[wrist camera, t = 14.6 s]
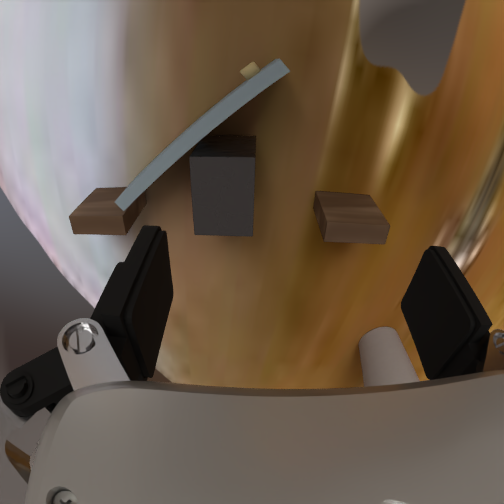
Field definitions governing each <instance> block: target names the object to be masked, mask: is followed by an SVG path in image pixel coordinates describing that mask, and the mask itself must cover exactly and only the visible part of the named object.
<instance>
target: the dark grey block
mask: <svg viewBox="0 0 504 504" xmlns="http://www.w3.org/2000/svg"><path fill="white" fill-rule="evenodd" d="M255 151H256V136H238V135H206V136H205V137H203V138H202V139H201V140H200V142H199V143H198V145H197V146H196V148H195V149H194V151H193V152H192V154H191V155H190V157H189V158H190V176H191V193H192V207H193V221H194V233H195V235H219V236H252V237H253V213H254V182H255Z"/></svg>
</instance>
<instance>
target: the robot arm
mask: <svg viewBox="0 0 504 504" xmlns="http://www.w3.org/2000/svg"><path fill="white" fill-rule="evenodd" d="M172 300H173V284H172V276H171V268H170V260H169V251H168V242H167V233H166V231H161V227H160V226H143V227H142V229H141V231H140V233H139V234H138V236H137V238H136V240H135V242H134V244H133V246H132V248H131V250H130V252H129V254H128V256H127V258H126V260H125V262H119V263H118V264H117V265H116V267H115V269H114V271H113V273H112V275H111V277H110V279H109V281H108V283H107V285H106V287H105V289H104V291H103V293H102V295H101V297H100V299H99V301H98V303H97V305H96V308H95V310H94V312H93V314H92V316H91V319H87V318H84V319H77V320H74V321H72V322H70V323H68V324H67V325H66V326H65V327H64V328H63V329H62V330H61V332H60V333H59V335H58V340H57V344H58V347H56V348H54V349H52V350H50V351H49V352H47V353H45V354H43V355H41V356H39V357H37V358H35V359H33V360H31V361H30V362H28V363H26V364H24V365H22V366H20V367H18V368H16V369H14V370H13V371H11V372H10V373H9V374H7V376H6V377H5V378H4V379H3V382H2V384H1V388H0V504H504V331H503V330H500V329H496V330H493V331H492V332H491V333H489V331H488V330H489V328H490V327H491V326H492V322H491V320H490V319H489V317H488V315H487V313H486V311H485V310H484V308H483V306H482V305H481V303H480V301H479V299H478V298H477V296H476V294H475V293H474V291H473V289H472V288H471V286H470V285H469V283H468V281H467V280H466V278H465V277H464V275H463V274H462V272H461V270H460V269H459V267H458V266H457V264H456V263H455V261H454V260H453V258H452V257H451V255H450V254H449V252H448V251H447V250H446V248H445V247H440V246H430V247H429V248H428V249H427V250H425V252H424V254H423V256H422V259H421V261H420V263H419V265H418V268H417V270H416V272H415V274H414V276H413V278H412V281H411V283H410V285H409V287H408V289H407V291H406V293H405V295H404V297H403V299H402V302H401V309H402V312H403V314H404V317H405V319H406V322H407V324H408V327H409V330H410V332H411V335H412V338H413V340H414V343H415V346H416V348H417V351H418V354H419V357H420V360H421V362H422V365H423V368H424V371H425V374H426V377H427V378H428V379H430V380H427V381H420V382H411V383H402V384H392V385H381V386H368V387H353V388H331V389H255V388H234V387H216V386H202V385H189V384H178V383H165V382H152V381H147V378H148V377H150V378H152V377H153V374H154V370H155V366H156V362H157V358H158V354H159V350H160V346H161V342H162V338H163V334H164V330H165V326H166V322H167V318H168V315H169V311H170V307H171V303H172ZM39 440H40V441H39ZM38 441H39V444H38ZM36 448H37V450H36V454H35V458H34V461H33V465H32V469H30V464H29V462H30V456H31V455H32V453H33V451H34V450H35V449H36Z"/></svg>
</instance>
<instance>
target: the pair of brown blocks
mask: <svg viewBox="0 0 504 504" xmlns="http://www.w3.org/2000/svg"><path fill="white" fill-rule="evenodd" d="M126 188H127V187H118V188H96V189H95V190H94V191H93V192H92V193H91V194H90V195H89V196H88V197H87V198H86V199H85V200H84V201H83V202H82V203H81V204H80V205H79V206H78V207H77V208H76V209H75V210H74V211H73V213H72V214H71V215H70V216H69V219H70V223H71V226H72V230H73V233H74V234H99V235H126V234H127V233H128V231H129V230H130V228H131V226H132V225H133V223H134V222H135V220H136V219H137V217H138V216H139V214H140V213H141V211H142V210H143V208H144V207H145V205H146V196H145V191H144V192H143V193H142V194H140V195H139V196H138V197H137V198H136V199H135V200H134V201H133V202H132V203H131V204H130V205H129V206H128V207H127V208H126V209H125V210H124V211H123V210H122V209H121V208H120V207H119V206H118V205H117V204H116V203H115V201H116V200H117V198H118V197H119V196H120V195H121V194H122V192H123V191H124V190H125V189H126ZM313 208H314V212H315V215H316V218H317V221H318V224H319V227H320V230H321V234H322V237H323V240H324V242H346V243H368V244H385V242H386V239H387V235H388V232H389V228H390V225H389V223H388V222H387V220H386V219H385V217H384V216H383V214H382V213H381V211H380V210H379V208H378V207H377V205H376V204H375V202H374V201H373V199H372V198H371V197H370V195H362V194H350V193H338V192H324V191H316V192H315V200H314V207H313Z"/></svg>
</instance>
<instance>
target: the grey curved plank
mask: <svg viewBox="0 0 504 504" xmlns="http://www.w3.org/2000/svg"><path fill="white" fill-rule="evenodd" d="M239 72H240V73H241V74H242V75H243V76H244V77H245V78H246V81H245V82H243V83H242V84H241V85H239V86H238V87H237V88H236V89H234V90H233V91H232V92H230V93H229V94H228V95H227V96H225V97H224V98H223V99H222V100H220V101H219V102H218V103H217V104H215V105H214V106H213V107H212V108H211V109H209V110H208V111H207V112H206V113H205V114H203V115H202V116H201V117H200V118H199V119H198V120H196V121H195V122H194V123H193V124H192V125H191V126H190V127H188V128H187V129H186V130H185V131H184V132H183V133H182V134H181V135H179V136H178V137H177V138H176V139H175V140H174V141H173V142H172V143H171V144H170V145H168V146H167V147H166V148H165V149H164V150H163V151H162V152H161V153H160V154H159V155H158V156H157V157H156V158H155V159H154V160H153V161H152V162H151V163H150V164H149V165H148V166H147V167H146V168H144V169H143V170H142V171H141V172H140V173H139V174H138V175H137V176H136V178H135V179H134V180H133V181H132V182H131V183H130V184H129V186H128V187H127V188H126V189H125V190H124V191H123V192H122V194H121V195H120V196H119V197H118V198H117V200H116V201H115V203H116V204H117V205H118V206H119V207H120V208H121V209H122V210H123V211H124V210H125V209H126V208H127V207H128V206H129V205H130V204H131V203H132V202H133V201H134V200H135V199H136V198H137V197H138V196H139V195H140V194H142V193H143V192H144V191H145V190H146V189H147V188H148V187H149V186H150V185H151V184H152V183H153V182H154V181H155V180H156V179H157V178H158V177H159V176H160V175H162V174H163V173H164V172H165V171H166V170H167V169H168V168H169V167H170V166H171V165H172V164H174V163H175V162H176V161H177V160H178V159H179V158H180V157H181V156H183V155H184V154H185V153H186V152H187V151H188V150H189V149H190V148H192V147H193V146H194V145H195V144H196V143H197V142H199V141H200V140H201V139H202V138H203V137H205V136H206V135H207V134H208V133H209V132H211V131H212V130H213V129H214V128H215V127H217V126H218V125H219V124H220V123H222V122H223V121H224V120H225V119H227V118H228V117H229V116H230V115H232V114H233V113H234V112H235V111H237V110H238V109H239V108H241V107H242V106H243V105H244V104H246V103H247V102H248V101H250V100H251V99H252V98H254V97H255V96H256V95H258V94H259V93H260V92H262V91H263V90H264V89H266V88H267V87H269V86H270V85H271V84H273V83H274V82H276V81H277V80H278V79H280V78H281V77H283V76H284V75H285V74H287V73H288V72H290V71H289V69H288V68H287V67H286V66H285V64H284V63H283V62H282V61H281V60H280V59H275V60H273V61H272V62H271V63H269V64H268V65H266V66H265V67H264V68H262V69H260V68H259V67H258V66H257V65H256V64H255V62H254V61H253V62H251V63H250V64H249V65H247V66H246V67H245V68H243V69H242V70H241V71H239Z"/></svg>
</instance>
